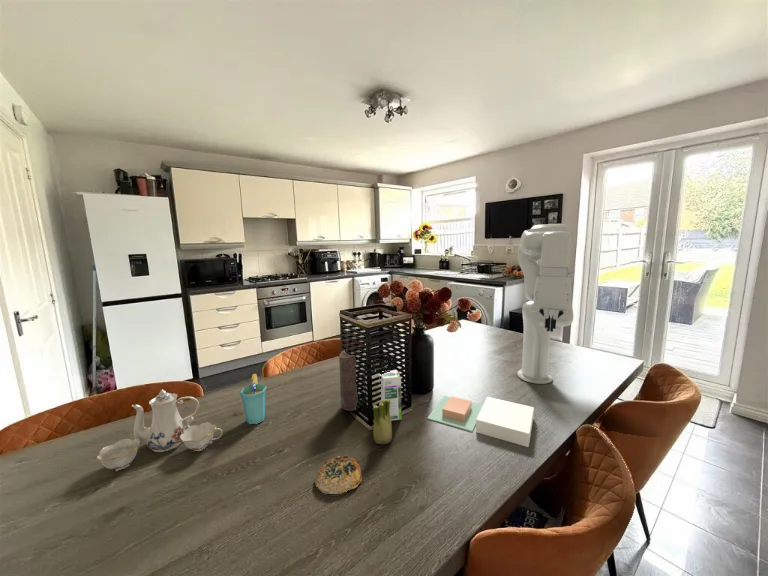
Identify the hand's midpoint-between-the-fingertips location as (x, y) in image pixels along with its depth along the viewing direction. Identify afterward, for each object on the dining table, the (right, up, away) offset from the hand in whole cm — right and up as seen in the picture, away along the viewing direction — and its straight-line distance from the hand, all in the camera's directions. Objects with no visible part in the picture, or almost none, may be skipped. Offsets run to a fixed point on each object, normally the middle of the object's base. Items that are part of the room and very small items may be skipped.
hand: (550, 330), depth 96 cm
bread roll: (-63, -33, -23) cm, 75 cm away
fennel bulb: (-53, -30, -10) cm, 61 cm away
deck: (-16, -28, -4) cm, 32 cm away
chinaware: (-113, -32, -12) cm, 118 cm away
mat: (-29, -27, +4) cm, 40 cm away
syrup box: (-50, -28, +2) cm, 58 cm away
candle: (-63, -28, +8) cm, 69 cm away
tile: (-29, -25, +3) cm, 38 cm away
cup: (-93, -29, +1) cm, 97 cm away
